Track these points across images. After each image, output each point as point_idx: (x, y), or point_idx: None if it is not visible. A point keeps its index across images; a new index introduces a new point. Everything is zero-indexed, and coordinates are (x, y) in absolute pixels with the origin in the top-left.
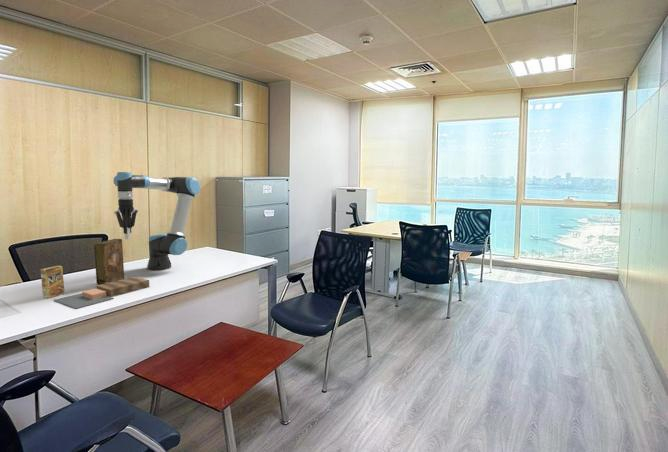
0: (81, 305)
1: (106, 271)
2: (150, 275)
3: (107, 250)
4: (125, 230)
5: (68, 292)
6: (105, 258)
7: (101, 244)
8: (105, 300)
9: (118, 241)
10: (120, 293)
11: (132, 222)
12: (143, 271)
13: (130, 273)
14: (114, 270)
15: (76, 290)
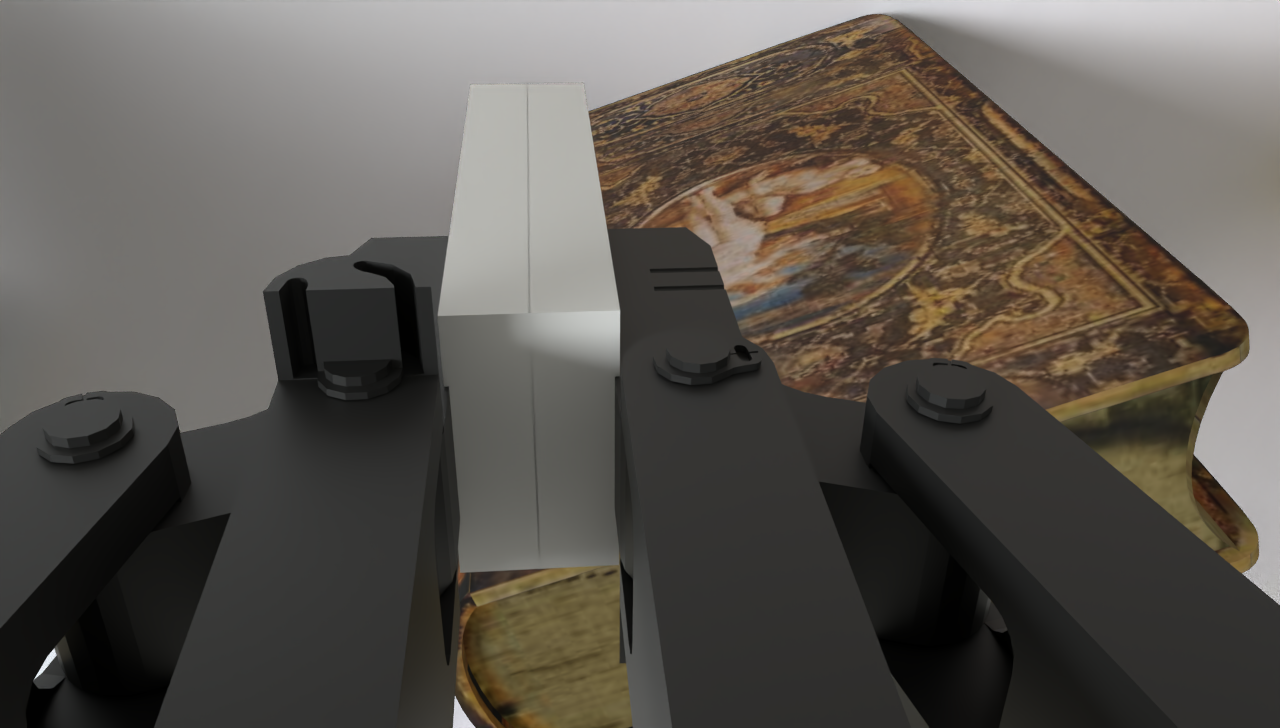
0: None
1: (902, 95)
2: (59, 53)
3: (989, 288)
4: (695, 309)
5: (1256, 156)
6: (999, 185)
7: (1188, 417)
8: None
9: None
10: None
11: (42, 646)
12: (48, 367)
13: (250, 405)
14: (709, 149)
15: (1157, 164)
